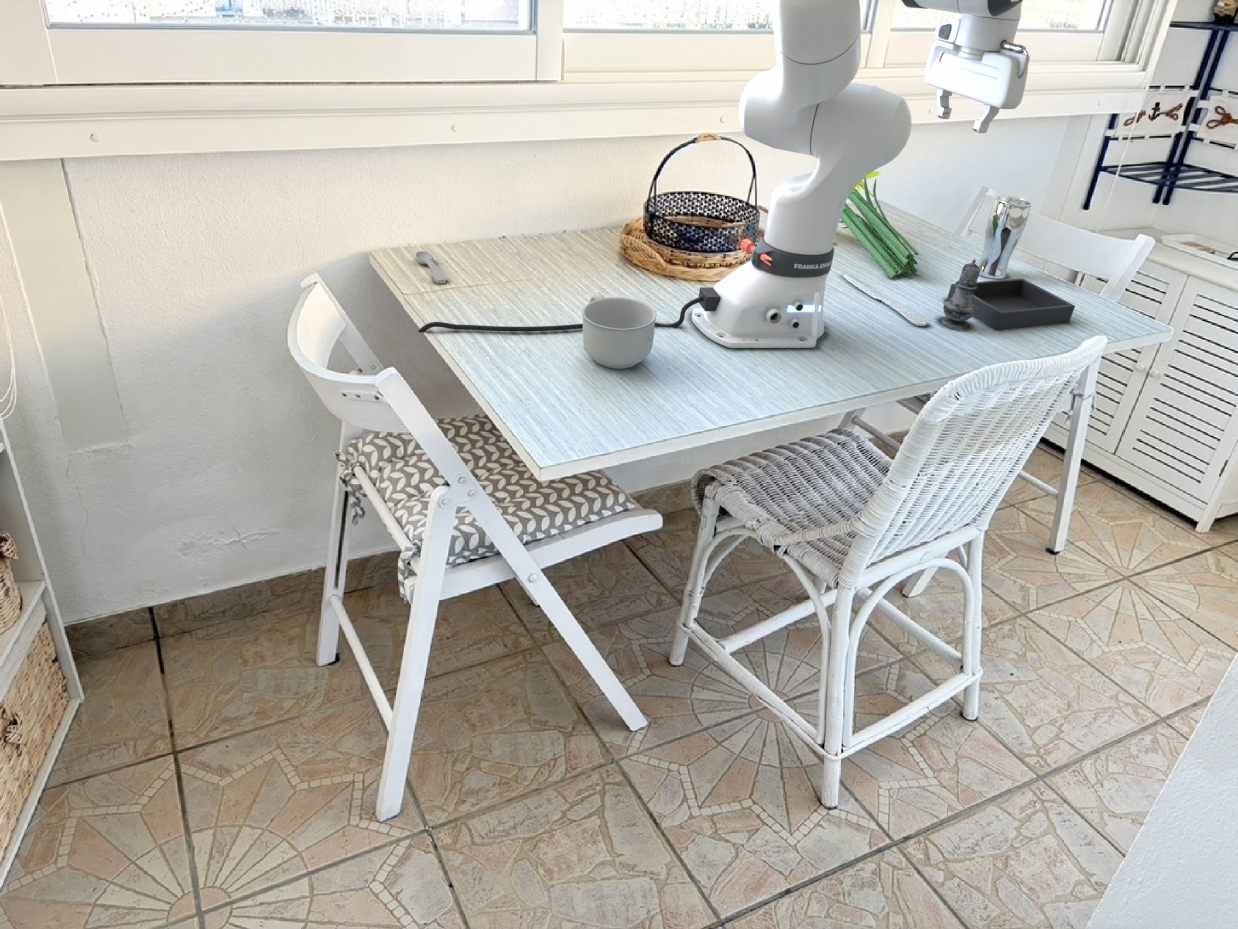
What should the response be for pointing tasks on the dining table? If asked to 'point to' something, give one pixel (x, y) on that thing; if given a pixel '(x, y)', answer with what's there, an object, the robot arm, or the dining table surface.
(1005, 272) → the beer glass
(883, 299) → the butter knife
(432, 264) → the spoon
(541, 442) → the dining table surface
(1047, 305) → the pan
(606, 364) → the teacup
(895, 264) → the daffodil flowers
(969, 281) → the salt shaker
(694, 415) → the dining table surface
